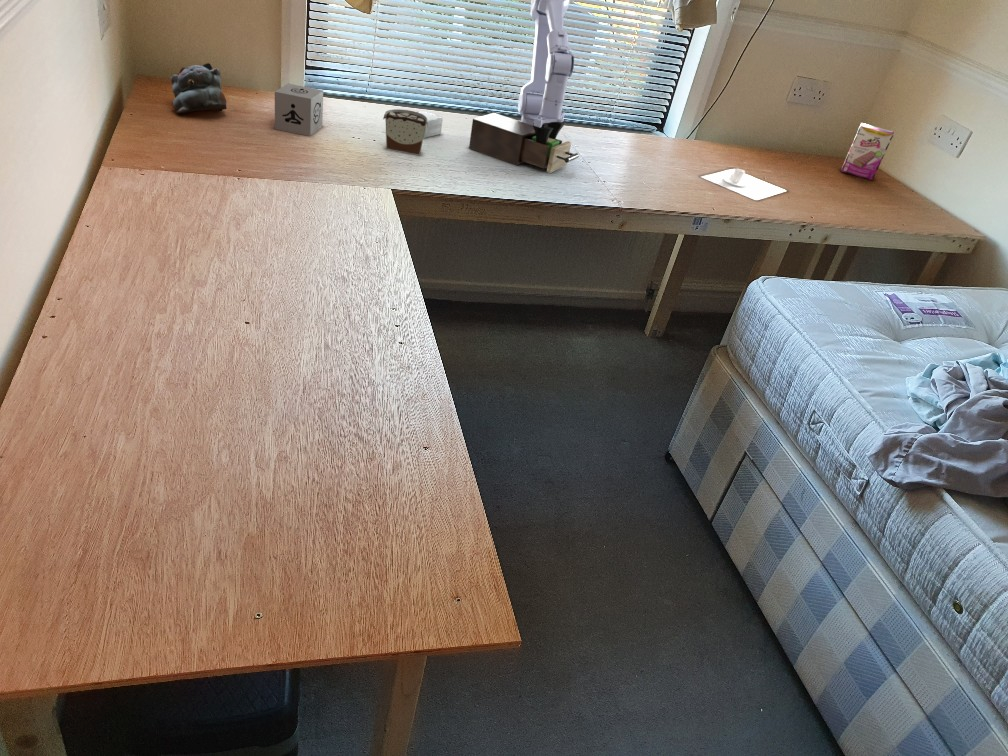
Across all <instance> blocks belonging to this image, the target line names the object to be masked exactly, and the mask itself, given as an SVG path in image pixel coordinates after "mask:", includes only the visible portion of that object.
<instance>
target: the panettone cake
mask: <svg viewBox="0 0 1008 756" xmlns="http://www.w3.org/2000/svg"><path fill="white" fill-rule="evenodd" d="M382 120H385V149H386V150H388V151H394V152H399V153H404V154H410V155H414V156H420V155H421V151H422V148H423V143H424V139H425V138H424V133H425V128H426V124H427V128H428V120H427V117H426V116H424V115H423V114H420V113H418V111H414V110H411V109H410V110H409V109H402V108H401V109H400V108H395V109H389V110H386V111H385V113H384V115H383V118H382Z"/></svg>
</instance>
